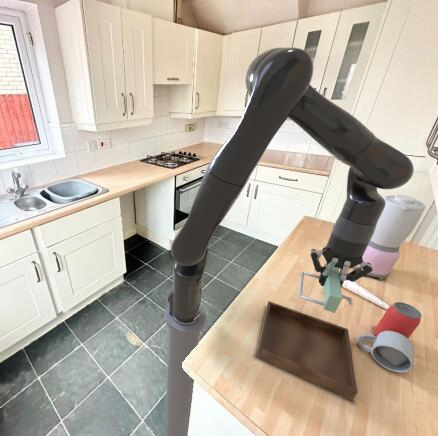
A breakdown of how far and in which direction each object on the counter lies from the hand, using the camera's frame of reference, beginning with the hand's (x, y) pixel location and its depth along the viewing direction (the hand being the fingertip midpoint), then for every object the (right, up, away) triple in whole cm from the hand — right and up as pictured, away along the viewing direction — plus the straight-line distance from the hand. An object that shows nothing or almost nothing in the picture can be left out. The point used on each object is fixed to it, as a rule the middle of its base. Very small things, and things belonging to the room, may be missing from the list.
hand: (328, 285), depth 68 cm
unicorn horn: (+25, -8, +21) cm, 34 cm away
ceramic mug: (+15, -20, 0) cm, 24 cm away
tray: (-6, -18, +3) cm, 19 cm away
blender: (+40, -1, +32) cm, 52 cm away
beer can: (+21, -17, +5) cm, 28 cm away
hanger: (-2, -1, -2) cm, 3 cm away
